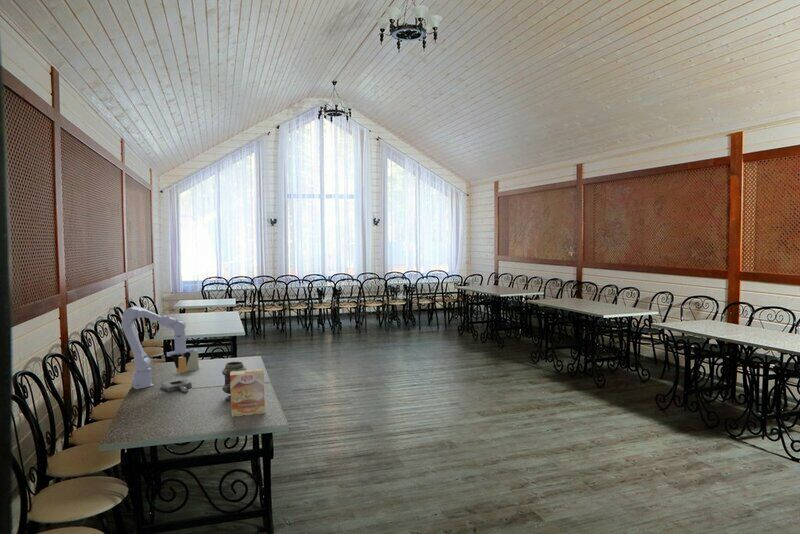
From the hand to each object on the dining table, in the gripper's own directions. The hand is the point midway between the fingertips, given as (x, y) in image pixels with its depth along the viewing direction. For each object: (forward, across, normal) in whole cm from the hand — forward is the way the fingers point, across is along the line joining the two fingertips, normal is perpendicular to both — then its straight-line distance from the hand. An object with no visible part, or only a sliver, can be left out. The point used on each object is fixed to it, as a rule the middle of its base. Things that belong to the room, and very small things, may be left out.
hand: (181, 367), depth 305 cm
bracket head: (+9, -5, -9) cm, 14 cm away
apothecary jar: (+10, +10, -46) cm, 48 cm away
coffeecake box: (+10, +4, -71) cm, 72 cm away
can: (+10, +16, +28) cm, 33 cm away
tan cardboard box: (+3, 0, 0) cm, 3 cm away
